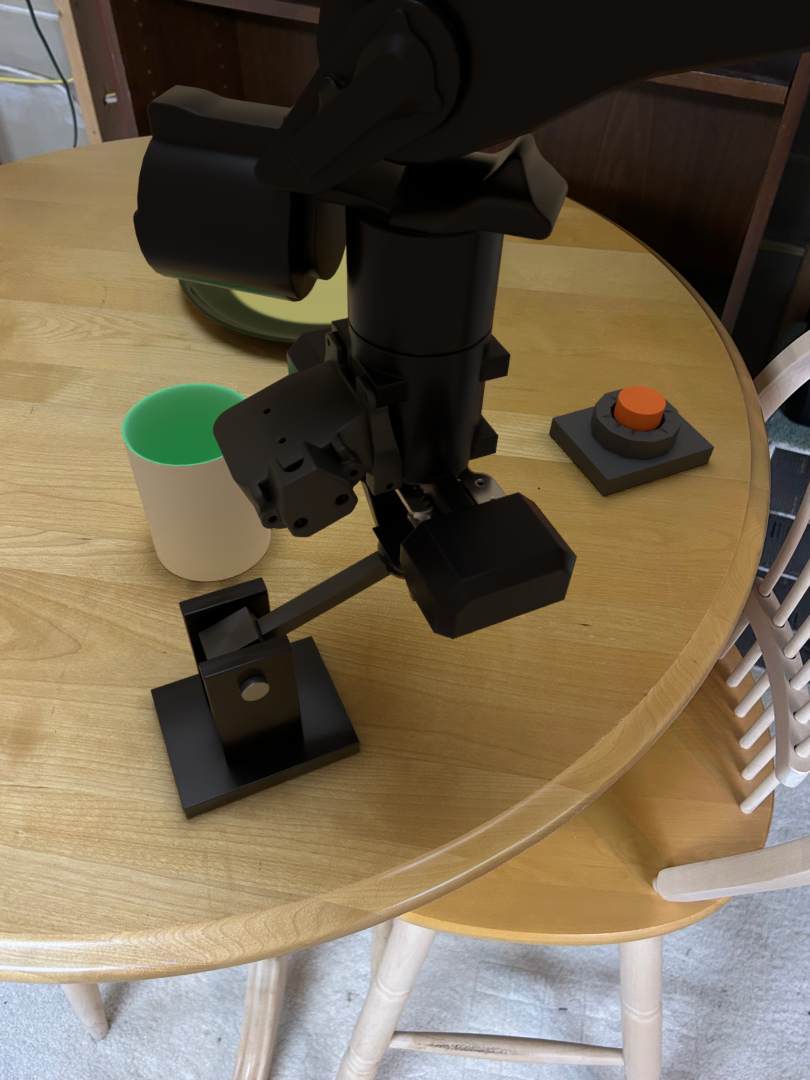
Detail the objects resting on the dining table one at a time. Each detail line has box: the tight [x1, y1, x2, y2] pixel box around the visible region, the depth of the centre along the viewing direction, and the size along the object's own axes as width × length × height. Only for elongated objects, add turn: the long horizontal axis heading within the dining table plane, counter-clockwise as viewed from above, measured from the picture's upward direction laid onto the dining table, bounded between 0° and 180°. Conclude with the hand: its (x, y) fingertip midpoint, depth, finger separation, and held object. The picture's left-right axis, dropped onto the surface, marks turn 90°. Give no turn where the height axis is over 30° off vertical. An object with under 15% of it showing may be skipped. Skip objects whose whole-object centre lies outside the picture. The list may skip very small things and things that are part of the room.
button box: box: [549, 388, 715, 497], centre depth 64 cm, size 8×10×4 cm
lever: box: [199, 518, 405, 660], centre depth 41 cm, size 13×3×3 cm, turn 114°
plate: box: [177, 247, 348, 344], centre depth 80 cm, size 28×28×2 cm
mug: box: [121, 382, 272, 582], centre depth 54 cm, size 12×8×10 cm
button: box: [614, 385, 666, 432], centre depth 62 cm, size 4×4×2 cm
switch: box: [150, 576, 361, 820], centre depth 43 cm, size 10×8×10 cm
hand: (407, 573), depth 43 cm, fingers closed on lever, 3 cm apart
